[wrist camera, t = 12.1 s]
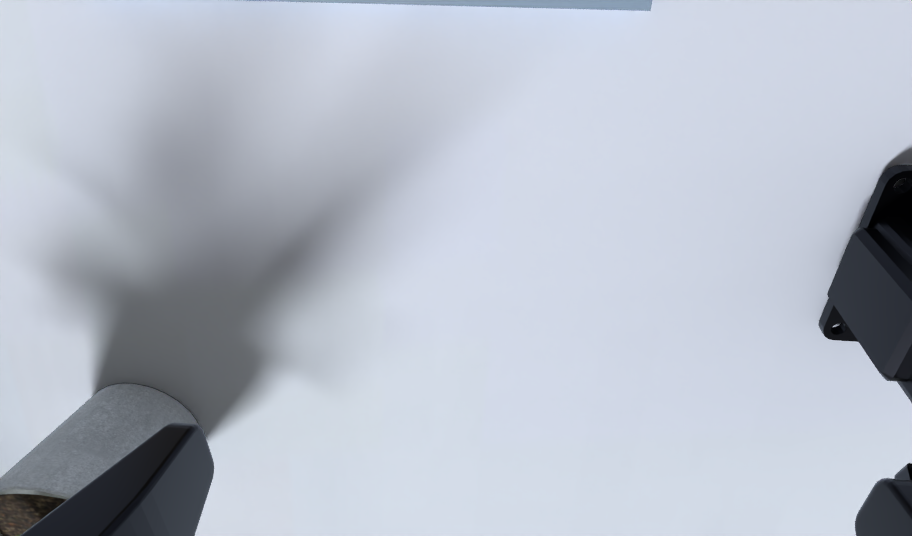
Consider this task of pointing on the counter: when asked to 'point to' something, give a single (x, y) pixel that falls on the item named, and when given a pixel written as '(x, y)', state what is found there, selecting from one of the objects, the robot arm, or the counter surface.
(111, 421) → the house plant
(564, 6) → the board
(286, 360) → the counter surface
